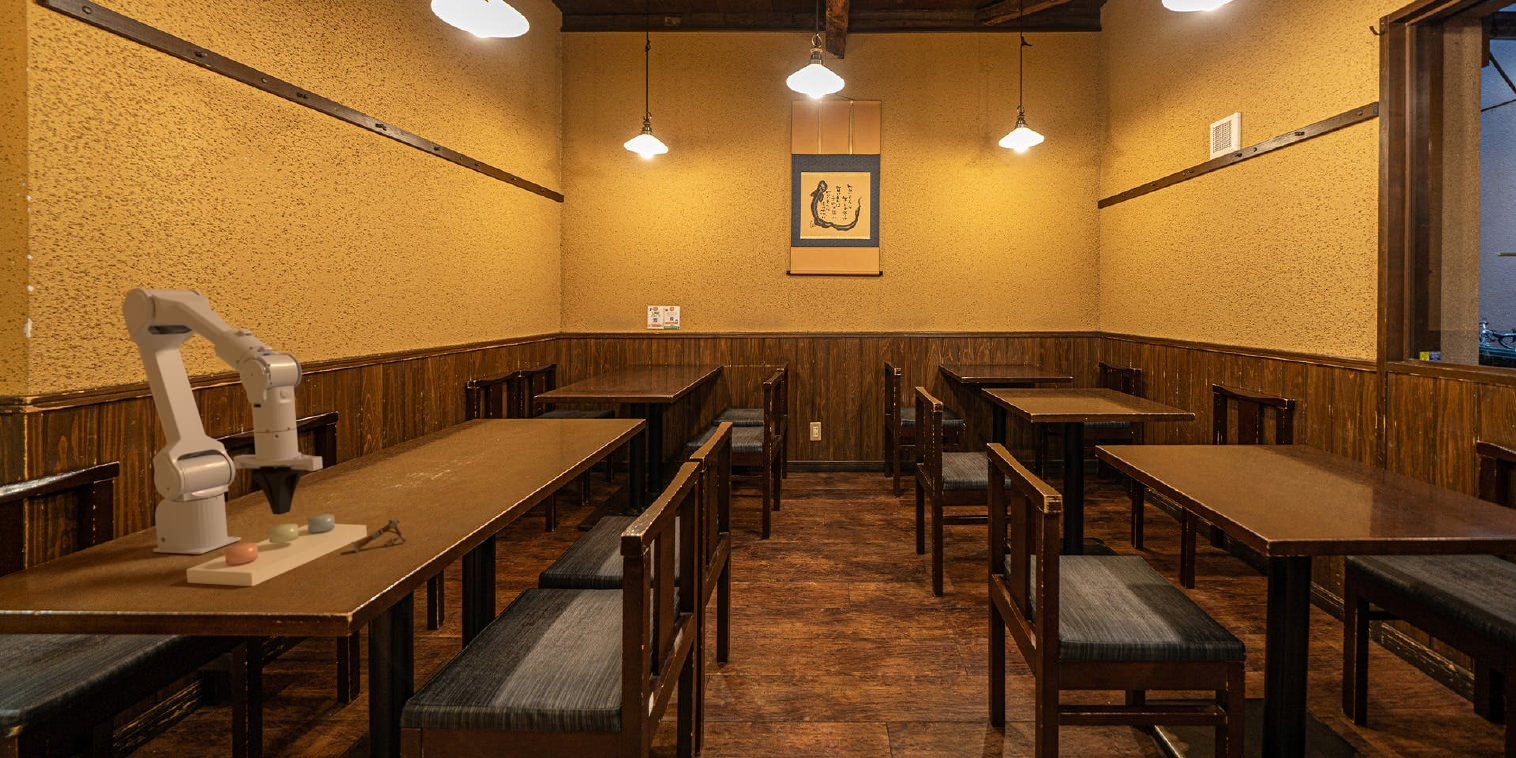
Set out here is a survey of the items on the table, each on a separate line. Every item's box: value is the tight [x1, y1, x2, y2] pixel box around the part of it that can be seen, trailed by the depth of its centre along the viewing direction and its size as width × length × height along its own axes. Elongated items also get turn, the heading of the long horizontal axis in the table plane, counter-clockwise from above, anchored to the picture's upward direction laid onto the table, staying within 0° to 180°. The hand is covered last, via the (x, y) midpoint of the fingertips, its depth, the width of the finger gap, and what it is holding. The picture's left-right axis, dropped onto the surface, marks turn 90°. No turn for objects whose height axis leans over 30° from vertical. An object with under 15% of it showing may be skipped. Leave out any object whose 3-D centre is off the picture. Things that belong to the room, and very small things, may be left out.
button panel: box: [186, 523, 368, 587], centre depth 118 cm, size 11×24×2 cm, turn 170°
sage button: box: [268, 523, 299, 543], centre depth 118 cm, size 4×4×2 cm
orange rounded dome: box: [224, 542, 258, 564], centre depth 110 cm, size 4×4×2 cm
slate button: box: [306, 513, 336, 532], centre depth 126 cm, size 4×4×2 cm
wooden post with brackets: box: [350, 518, 407, 554], centre depth 123 cm, size 2×8×4 cm, turn 124°
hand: (281, 512), depth 118 cm, fingers closed
